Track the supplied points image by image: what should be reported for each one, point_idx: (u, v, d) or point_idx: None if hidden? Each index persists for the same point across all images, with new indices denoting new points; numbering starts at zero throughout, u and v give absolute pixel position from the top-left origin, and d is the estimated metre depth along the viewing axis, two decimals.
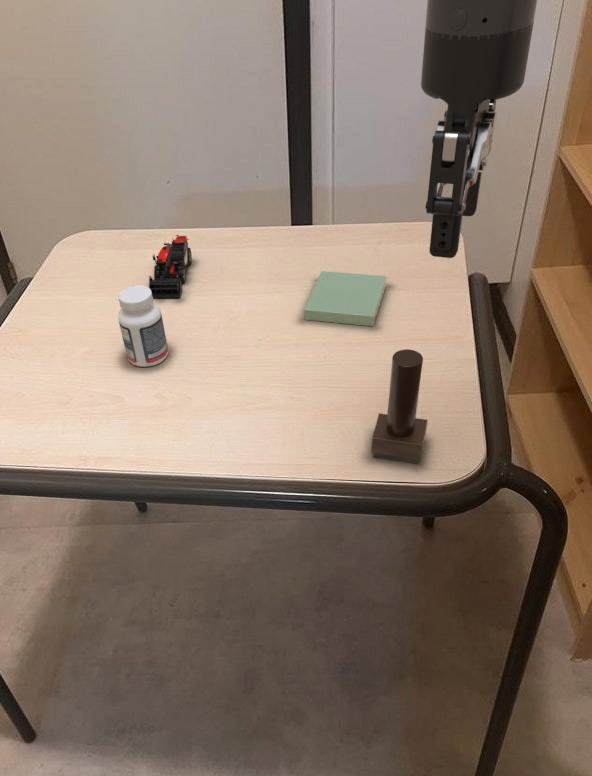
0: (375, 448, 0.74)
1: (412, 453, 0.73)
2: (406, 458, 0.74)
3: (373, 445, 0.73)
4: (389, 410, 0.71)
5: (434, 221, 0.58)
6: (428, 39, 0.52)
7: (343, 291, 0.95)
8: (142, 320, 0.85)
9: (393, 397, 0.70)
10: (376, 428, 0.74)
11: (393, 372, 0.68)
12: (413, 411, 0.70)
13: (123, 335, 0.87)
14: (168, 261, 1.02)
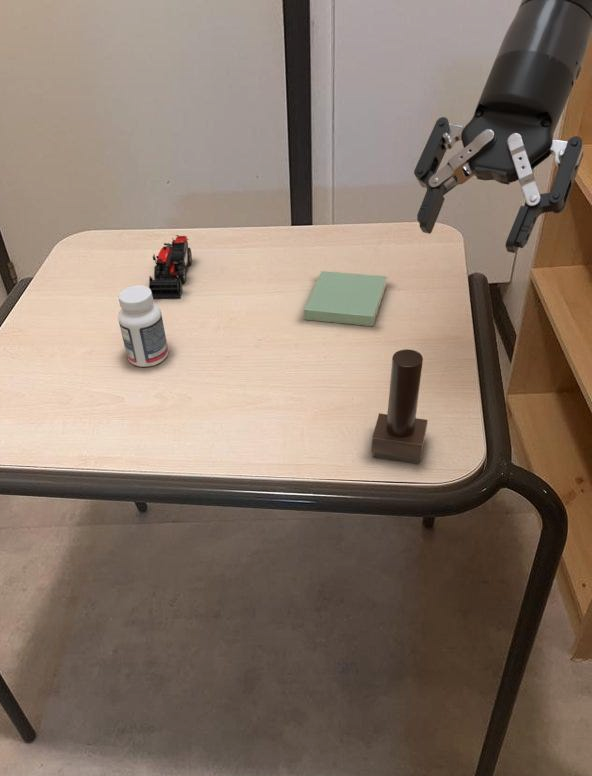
0: (375, 448, 0.74)
1: (412, 453, 0.73)
2: (406, 458, 0.74)
3: (373, 445, 0.73)
4: (389, 410, 0.71)
5: None
6: None
7: (343, 291, 0.95)
8: (142, 320, 0.85)
9: (393, 397, 0.70)
10: (376, 428, 0.74)
11: (393, 372, 0.68)
12: (413, 411, 0.70)
13: (123, 335, 0.87)
14: (168, 261, 1.02)
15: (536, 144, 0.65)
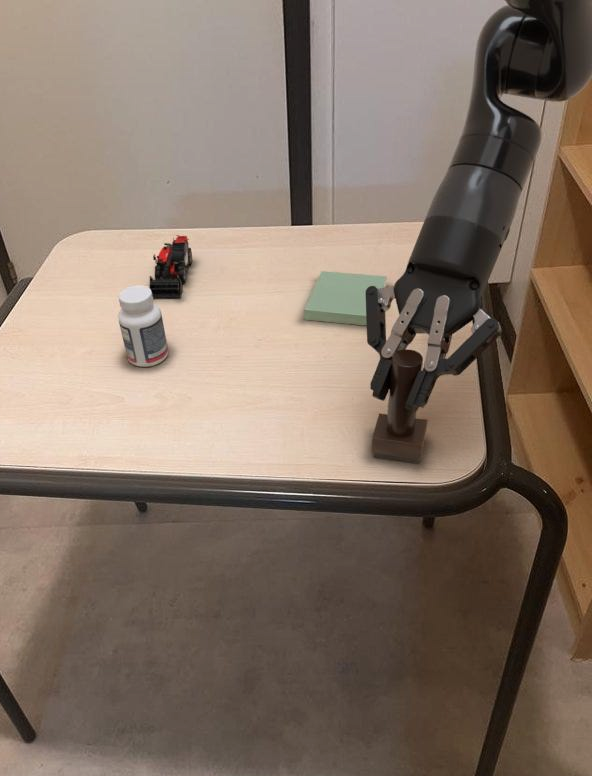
0: (375, 448, 0.74)
1: (412, 453, 0.73)
2: (406, 458, 0.74)
3: (373, 445, 0.73)
4: (389, 410, 0.71)
5: None
6: None
7: (343, 291, 0.95)
8: (142, 320, 0.85)
9: (393, 397, 0.70)
10: (376, 428, 0.74)
11: (393, 372, 0.68)
12: None
13: (123, 335, 0.87)
14: (169, 261, 1.02)
15: (462, 305, 0.65)
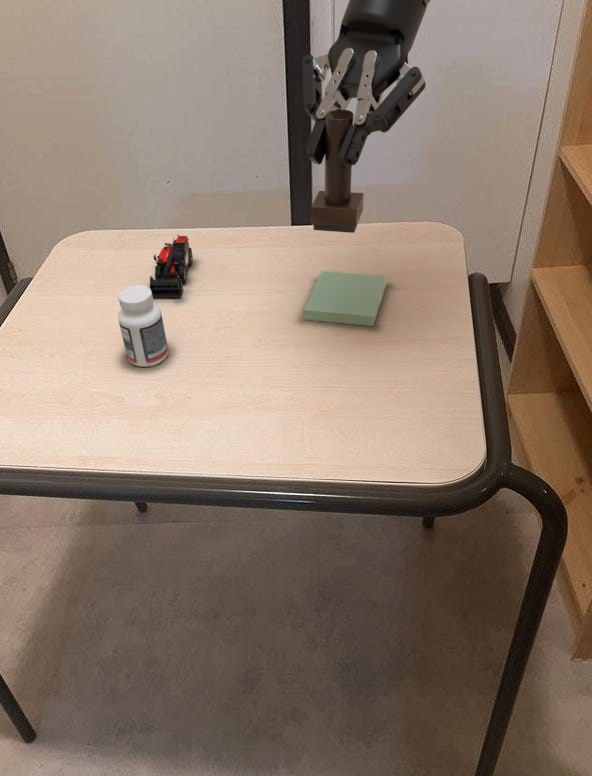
0: (314, 219, 0.79)
1: (348, 220, 0.78)
2: (343, 227, 0.79)
3: (312, 215, 0.79)
4: (325, 176, 0.76)
5: None
6: None
7: (343, 291, 0.95)
8: (142, 320, 0.85)
9: (328, 159, 0.75)
10: (315, 200, 0.79)
11: (326, 130, 0.73)
12: (347, 174, 0.75)
13: (123, 335, 0.87)
14: (169, 261, 1.02)
15: (389, 59, 0.70)
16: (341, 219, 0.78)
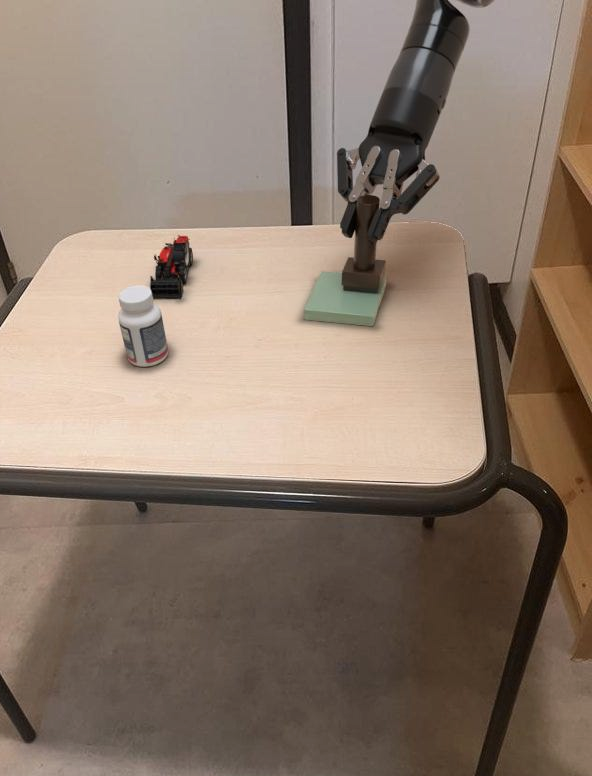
0: (344, 281, 0.94)
1: (373, 283, 0.93)
2: (368, 289, 0.94)
3: (343, 278, 0.94)
4: (355, 247, 0.92)
5: None
6: None
7: (343, 291, 0.95)
8: (142, 320, 0.85)
9: (358, 234, 0.90)
10: (345, 265, 0.94)
11: (357, 211, 0.88)
12: (373, 247, 0.91)
13: (123, 335, 0.87)
14: (170, 261, 1.02)
15: (409, 157, 0.86)
16: (367, 282, 0.93)
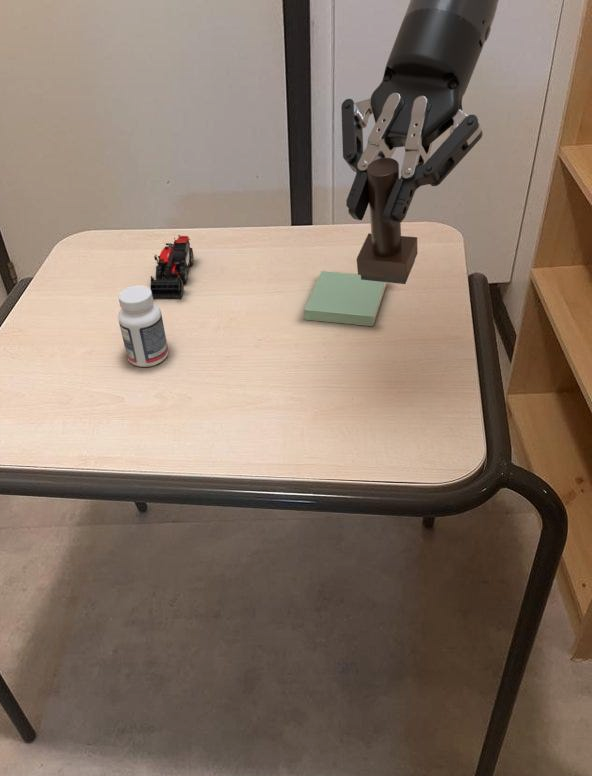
0: (361, 270, 0.72)
1: (397, 273, 0.71)
2: (393, 279, 0.72)
3: (358, 267, 0.72)
4: (371, 227, 0.69)
5: None
6: None
7: (343, 291, 0.95)
8: (142, 320, 0.85)
9: (372, 212, 0.67)
10: (362, 249, 0.72)
11: (368, 184, 0.65)
12: (395, 227, 0.68)
13: (123, 335, 0.87)
14: (170, 261, 1.02)
15: (441, 106, 0.63)
16: (390, 272, 0.71)
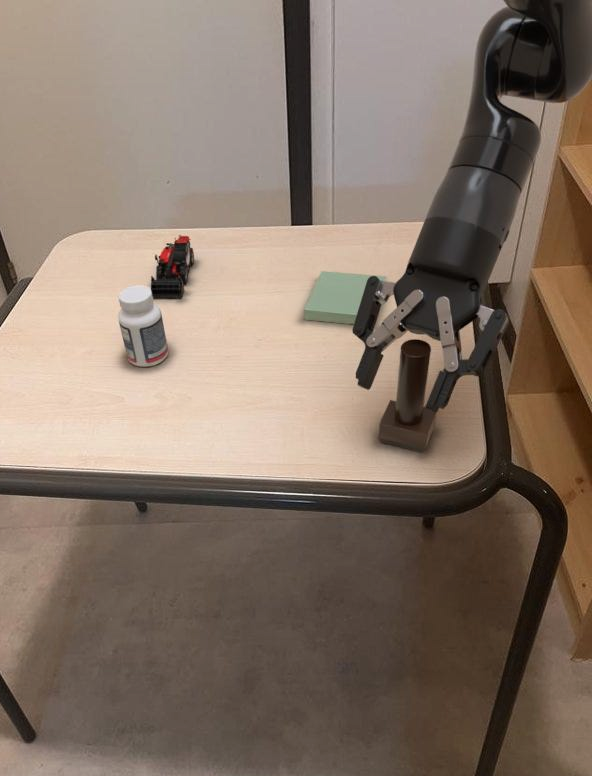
0: (382, 434, 0.75)
1: (417, 442, 0.74)
2: (412, 446, 0.75)
3: (380, 431, 0.75)
4: (397, 398, 0.72)
5: None
6: None
7: (343, 291, 0.95)
8: (142, 320, 0.85)
9: (401, 386, 0.71)
10: (385, 414, 0.75)
11: (401, 361, 0.69)
12: (420, 400, 0.71)
13: (123, 335, 0.87)
14: (170, 261, 1.02)
15: (463, 307, 0.66)
16: (410, 439, 0.74)
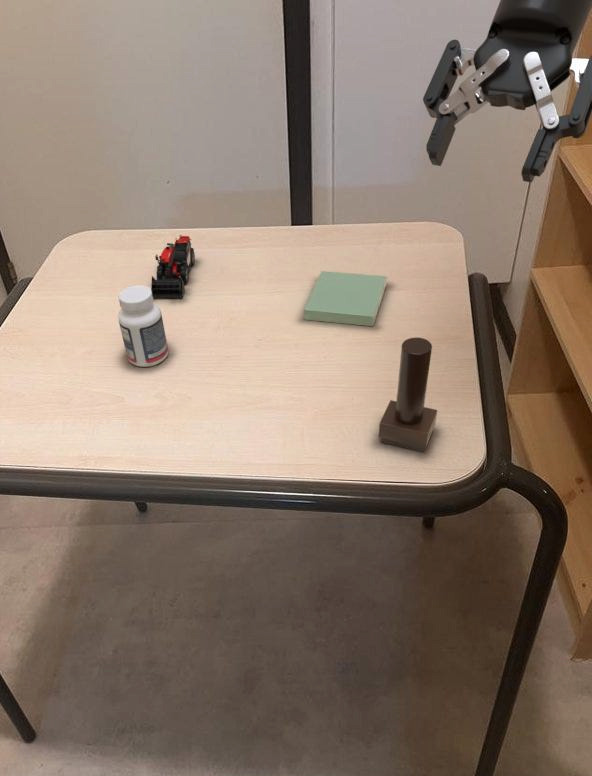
0: (382, 433, 0.75)
1: (418, 441, 0.74)
2: (412, 446, 0.75)
3: (380, 430, 0.75)
4: (397, 397, 0.73)
5: None
6: None
7: (343, 291, 0.95)
8: (142, 320, 0.85)
9: (401, 384, 0.71)
10: (385, 414, 0.75)
11: (402, 359, 0.69)
12: (420, 399, 0.72)
13: (123, 335, 0.87)
14: (171, 262, 1.02)
15: (554, 63, 0.61)
16: (410, 439, 0.74)
